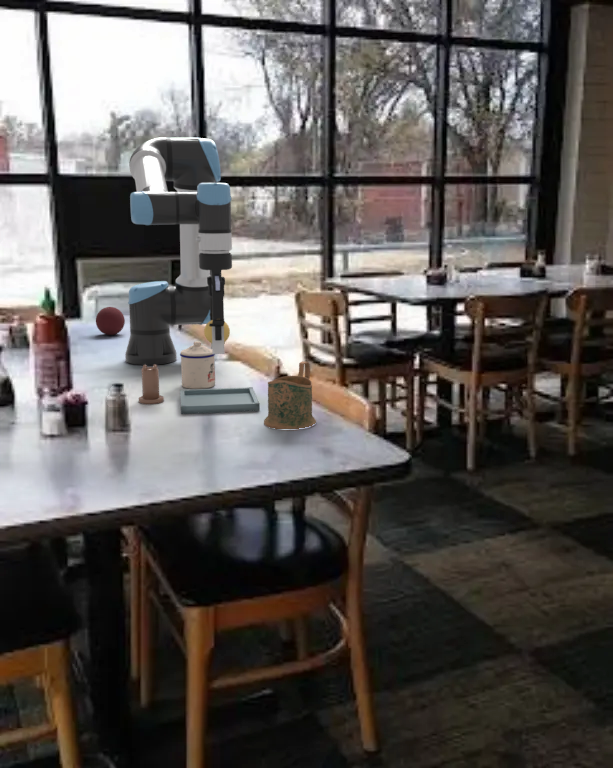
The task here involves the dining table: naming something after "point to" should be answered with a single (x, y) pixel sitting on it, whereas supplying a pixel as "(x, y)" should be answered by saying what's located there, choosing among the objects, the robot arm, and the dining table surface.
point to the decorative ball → (110, 321)
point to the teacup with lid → (197, 367)
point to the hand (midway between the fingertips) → (217, 350)
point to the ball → (209, 331)
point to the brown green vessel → (290, 401)
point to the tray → (218, 400)
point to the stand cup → (150, 386)
